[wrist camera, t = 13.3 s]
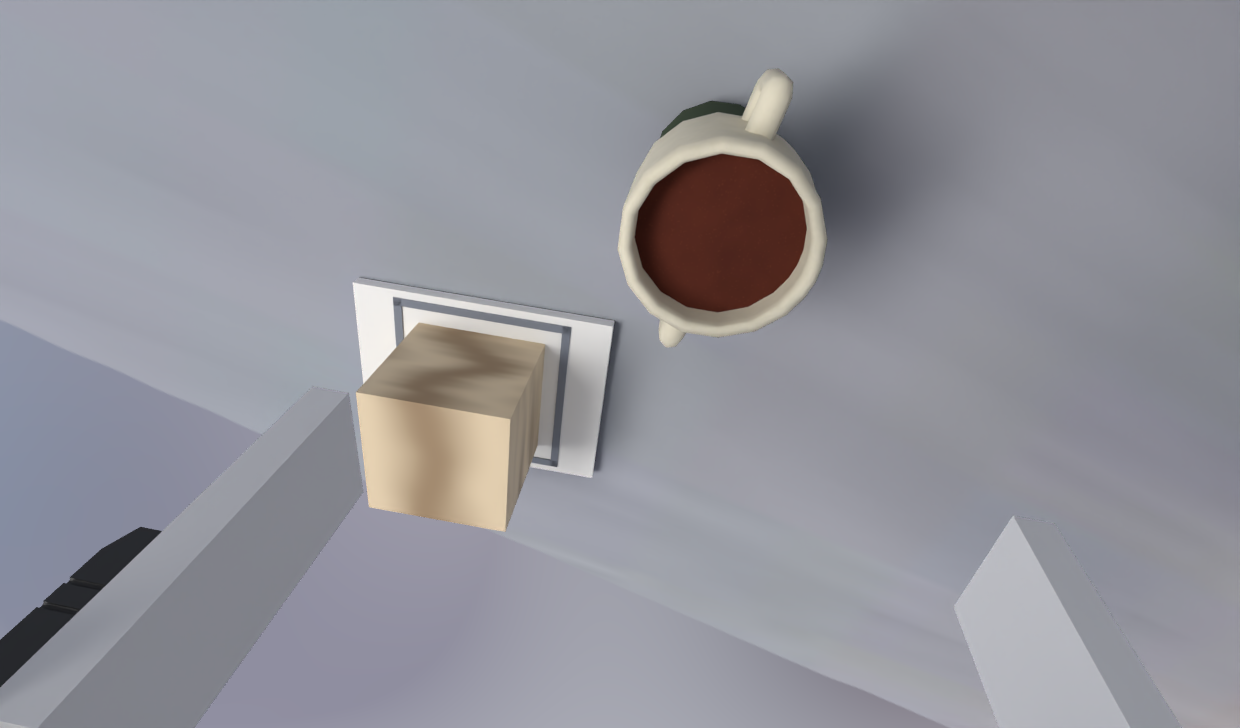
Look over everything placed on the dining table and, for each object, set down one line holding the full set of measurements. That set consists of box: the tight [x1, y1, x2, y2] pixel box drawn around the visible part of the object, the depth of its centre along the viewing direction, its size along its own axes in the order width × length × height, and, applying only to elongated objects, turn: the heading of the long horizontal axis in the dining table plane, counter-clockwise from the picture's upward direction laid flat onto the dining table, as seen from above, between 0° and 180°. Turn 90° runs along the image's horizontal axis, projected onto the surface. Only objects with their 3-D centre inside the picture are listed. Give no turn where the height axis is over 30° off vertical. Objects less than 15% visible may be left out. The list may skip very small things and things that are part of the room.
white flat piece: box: [353, 278, 615, 478], centre depth 40 cm, size 16×12×1 cm
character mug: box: [618, 69, 827, 348], centre depth 26 cm, size 11×7×13 cm, turn 161°
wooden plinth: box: [356, 323, 545, 532], centre depth 36 cm, size 8×8×8 cm
